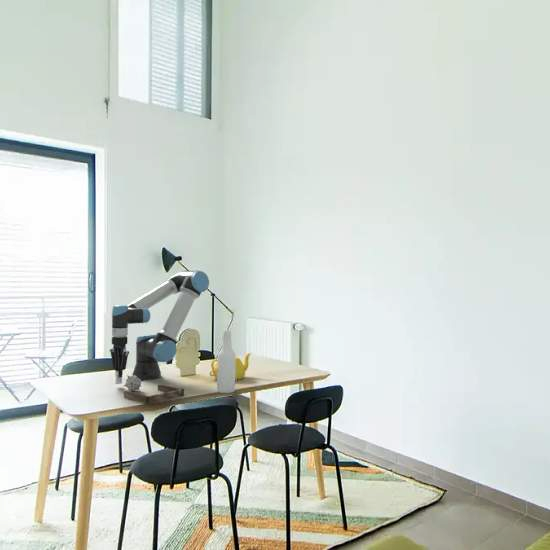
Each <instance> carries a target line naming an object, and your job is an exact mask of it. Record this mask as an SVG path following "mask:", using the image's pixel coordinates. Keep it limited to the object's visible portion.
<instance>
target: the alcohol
mask: <svg viewBox="0 0 550 550" xmlns="http://www.w3.org/2000/svg"><path fill="white" fill-rule="evenodd" d="M221 344H222V346H221V349H220V350H219V352H218V354H217V359H218V365H217V379H216V391H217V392H218V393H220V394H233V393H234V392H235V391H236V381H235V363H236V357H237V355H236V353H235V351H234V350H233V347H232V330H231V329H223V330H222V343H221Z"/></svg>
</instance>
